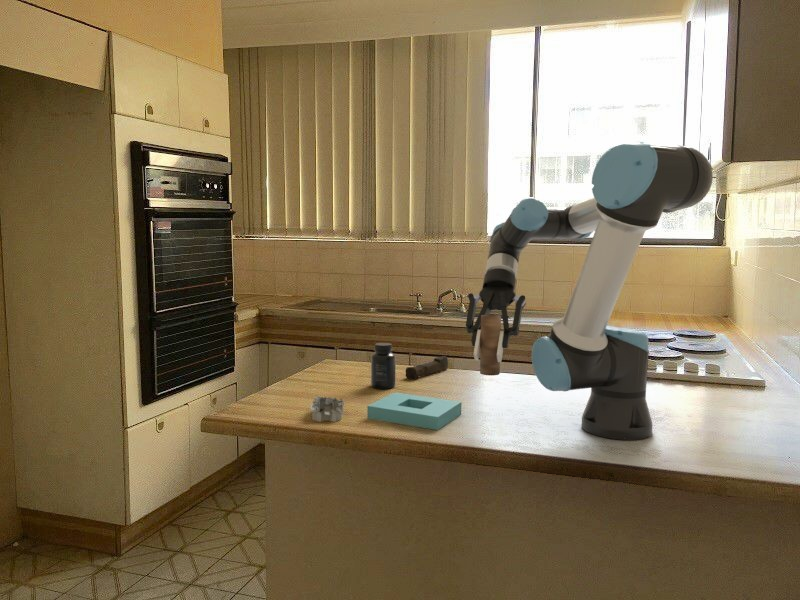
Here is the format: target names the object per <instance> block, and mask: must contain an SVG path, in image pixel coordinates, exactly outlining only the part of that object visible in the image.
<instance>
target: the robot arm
mask: <svg viewBox="0 0 800 600" xmlns="http://www.w3.org/2000/svg"><path fill="white" fill-rule="evenodd" d="M713 175H714V174H713V169H712V164H711V163H710V162H709V159H708V158H707V157H706V155H704V154H703V153H701V152H700V151H699V150H697V149H695V148H693V147H690V146H687V145H670V144H660V143H659V144H658V143H647V142H644V141H636V142H622V143H618V144H616V145H614V146H613V147H610V148H608V149H607V150H606V151H605V152H604V153H603V154H602V156H601V157H600V158H599V160H598V161H597V162H596V164H595V166H594V169H593V173H592V176H591V185H593V187H592V188H591V192H592V194H593V196H592V197H590V198H587V199H585V200H582V201H579V202H577V203H575V204H572V205H569V206H566V207H549V206H548V207H547V206H546V204H545V203H544V202H543V201H542V200H541V199H536V198H534V197H524V198H523V199H521V200H520V201H519V203H518V204H517V205H516V206H515V207H514V208H513V209H512V211H511V212H510V215H509V216H508V217H507V219H506V220H505V221H504V222H501V223H500V224H497V225H496V226H494V228H493V230H492V234H491V235H490V244H489V249H488V255H487V260H486V261H487V262H486V267H485V271H484V278H483V284H482V288H481V290H480V291H479V293H477V294H473V293H472V292H471V293H468V295H467V296H468V302H469V303H468V309H467V313H466V314H467V315H466V321H465V329H466V331H467V334H472V335H471V338H470V339H471V340H470V341H471V345H472V347H474V348H473V358H474V361H475V362H476V361H480V346H481V315H491V312H492V311H495V310H496V311H501V320H502V325H503V326H502V327H503V330H501V331H500V336H499V342H498V349H497V360H498V362H500V363H502V359H503V352H504V349H508V348H509V344H510V337H512V336H515V337H516V336H519V333H520V327H521V326H520V325H521V320H522V313H523V310H524V308H525V306H526V305H527V304H526V303H527V302H526V301H527V300H526V296H525V295H523V294H522V295H520V296H519V295H516V292H515V290H516V282H517V280H516V279H517V276H518V267H519V261H520V256H521V253H522V252H523V250H524V249H525V248H526V247H527V245H528V244H529V243H530V242H531V240H534V239H535V240H541V239H542V240H551V239H552V240H553V239H555V240H556V239H558V240H565V239H566V240H573V241H574V240H581V239H586V238H589V237H590V236H591V235H592V233H593V232H594V233H593V236H592V239H591V242H590V245H589V246H588V250H587V252H586V256H585V257H584V258H585V259H584V261H583V262H582V263H583V264H582V267H581V268H580V271H579V273H578V278H577V280H576V283H575V285H574V288H573V290H572V294H571V297H570V299H569V301H568V305H567V308H566V309H565V313H564V316H563V317H561V318H558V319H557V320H555V321H554V322H553V324H552V326H551V330H550V332H549V335H547V336H546V335H543V336H541V337H540V338H537V339H536V340H535V341H534V343H533V346H532V349H531V363H532V367H533V371H534V374H535V376H536V378H537V380H538V382H539V383H540V384H541V385H542V386H543V387H544V388H545V389H546V390H549V391H552V392H564V393H565V392H569V391H574V390H575V391H577V390H584V389H590V394H589V395H590V396H589V397H588V401H587V402H586V405H585V408H584V411H583V412H582V416H581V425H580V426H581V429H583V430H584V431H585V432H587V433H589V434H591V435H594V436H597V437H601V438H606V439H611V440H621V441H634V440H636V441H637V440H643V439H646V438H649V437H650V436H652V435H653V421H652V417H651V414H650V410H649V406H648V402H647V399H646V398H647V397H646V396H647V381H648V367H649V366H648V365H649V354H650V350H649V337H648V335H647V334H646V333H645V332H643V331H639V330H635V329H629V328H624V327H618V326H612V325H611V326H609V325H608V323H609V320H610V319H611V316H612V314H613V311H614V308H615V306H616V303H617V301H618V299H619V296H620V294H621V291H622V290H623V286H624V284H625V282H626V279H627V276H628V275H629V272H630V270H631V267H632V265H633V262H634V260H635V257H636V255H637V252H638V250H639V248H640V247H639V246H640V244H641V242H642V240H643V237H644V235H645V233H646V231H649V230H650V229H653V228H656V227H657V225H658V224H659V221H660V218H661V216H662V213H664V214H668V213H669V214H671V213H673V212H677V211H680V210H684V209H688V208H691V207H694V206H696V205H697V204H698V203H701V202H702V201H703V200H704V198H705V197H706V196H707V195H708V193H709V192H710V189H711V187H712V184H713ZM479 301H481V302H482V303H483V304H482V307H481V310H480V311H479V314H478V316H477V318H476V317H475V316H476V310H477V309H476V308H477V305H478V303H479ZM512 303H514V304H515V309H514V315H513V321H512V326H511V327H510V323H509V317H508V316H509V315H508V310H507V308H508V307H509V306H510V305H511V304H512ZM475 318H476V320H475Z"/></svg>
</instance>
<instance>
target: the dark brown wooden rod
mask: <svg viewBox="0 0 800 600" xmlns="http://www.w3.org/2000/svg"><path fill="white" fill-rule="evenodd" d="M446 369H447V370H448V369H449V359H448V357H447V356H446V355H441V356H438V357H435V358H433V360H432V361H429V362H426V363H423V364H418V365H415V366H408V367H406V368H405V377H406V379H408V380H413V381H415V380H417V379H419V378H420V377H423V376H427V375H430V374H432V373H442V372H445V371H447V370H446Z"/></svg>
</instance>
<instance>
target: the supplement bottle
mask: <svg viewBox="0 0 800 600" xmlns="http://www.w3.org/2000/svg"><path fill="white" fill-rule="evenodd" d="M373 351H374V353H373V354H371V356H370V385H371V387H372V388H374V389H377V390H378V389H380V390H387V389H393V388H395V386H396V365H397V364H396V361H397V360H396V359H397V357H396V355H395V354H394V353H393V343H389V342H376V343H375V344H374V350H373Z"/></svg>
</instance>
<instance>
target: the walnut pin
mask: <svg viewBox="0 0 800 600" xmlns="http://www.w3.org/2000/svg"><path fill="white" fill-rule="evenodd" d="M500 331H502V315H501V314H489V315H481V346H480V354H479V374H481V375H483V376H498V375H500V374H501V369H500V368H501V362H498V360H497V349H498V342H499V336H500Z"/></svg>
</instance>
